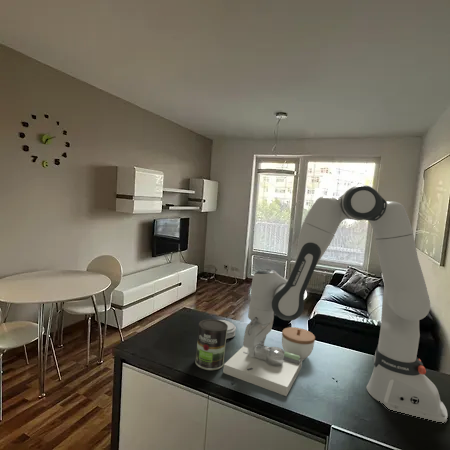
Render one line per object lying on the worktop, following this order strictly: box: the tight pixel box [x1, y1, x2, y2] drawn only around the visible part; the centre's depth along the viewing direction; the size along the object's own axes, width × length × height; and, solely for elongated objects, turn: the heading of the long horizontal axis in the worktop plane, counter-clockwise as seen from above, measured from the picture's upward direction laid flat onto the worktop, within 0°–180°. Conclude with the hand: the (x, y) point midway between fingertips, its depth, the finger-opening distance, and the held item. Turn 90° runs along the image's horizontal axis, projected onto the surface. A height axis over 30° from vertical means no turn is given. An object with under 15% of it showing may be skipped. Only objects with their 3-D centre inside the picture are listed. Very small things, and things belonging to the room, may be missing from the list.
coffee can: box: [194, 318, 228, 371], centre depth 112 cm, size 10×10×14 cm
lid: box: [218, 319, 237, 340], centre depth 138 cm, size 13×13×5 cm
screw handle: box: [247, 343, 285, 366], centre depth 113 cm, size 13×6×4 cm, turn 63°
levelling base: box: [222, 345, 303, 397], centre depth 111 cm, size 22×20×5 cm
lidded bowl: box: [281, 326, 316, 361], centre depth 124 cm, size 13×13×11 cm
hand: (256, 350), depth 114 cm, fingers open, 8 cm apart
